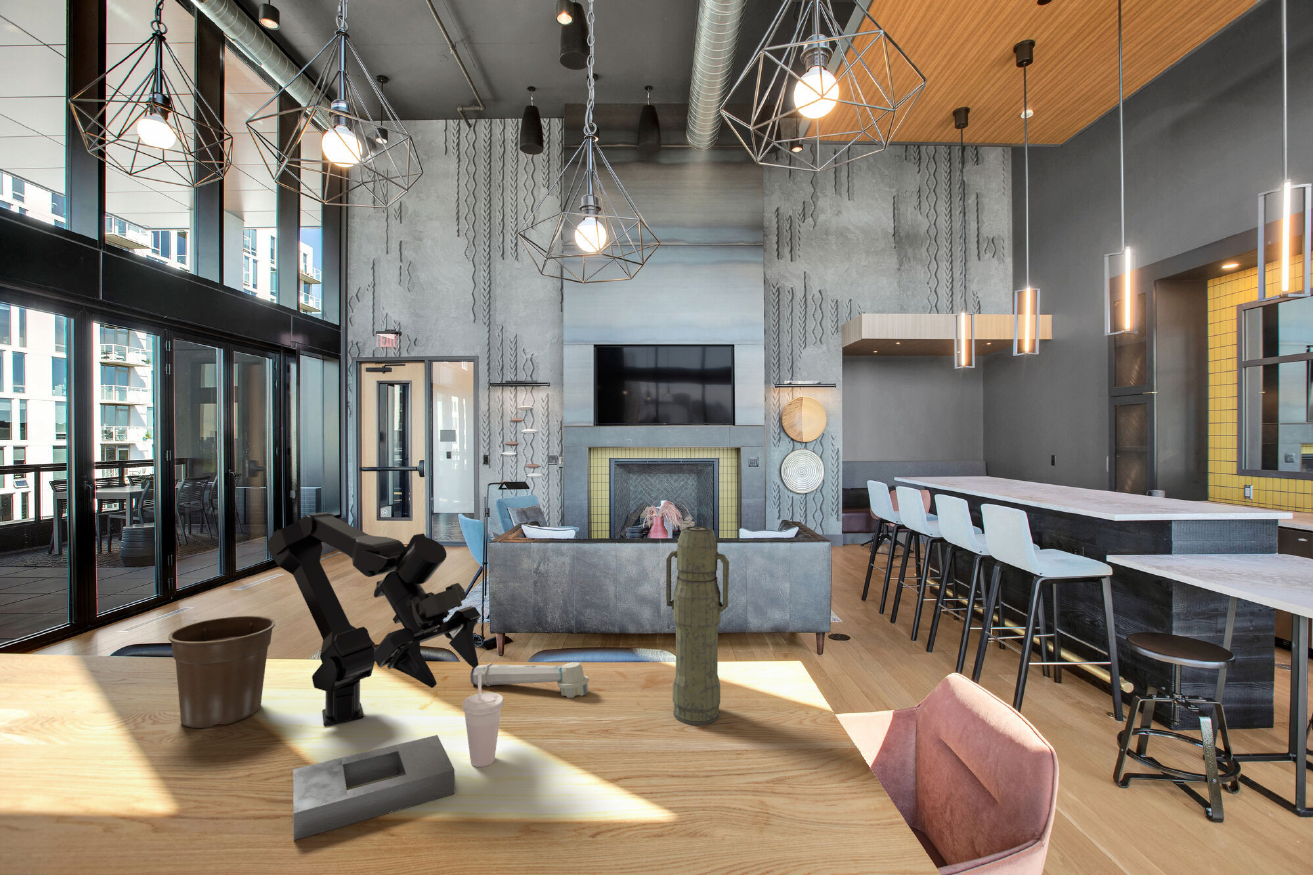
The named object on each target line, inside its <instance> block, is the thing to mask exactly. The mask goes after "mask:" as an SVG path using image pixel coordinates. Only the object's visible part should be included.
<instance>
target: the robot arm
mask: <svg viewBox="0 0 1313 875" xmlns="http://www.w3.org/2000/svg"><path fill="white" fill-rule="evenodd" d="M324 543H325V544H326V545H328V546H330V547H332V548H334V549H336V550H337V551H339V552H341V553H342V554H345V555H346V556H348V557H349V558H350V559H351V561H352V566H353V567H354V568H355V569H356V570H358V571H359V572H360V573H361V574H362V575H363V576H365V577H368V578H373V577H377V576H380V575H385V574H386V575H385V577H383V579H381V580H378V581H377V582H376V585H375V586H376V587H375V588H374V591H373V598H375V599H376V598H381V597H385V599H386V600H387V602H388V604H389V605H390V607H391V608H392V611H393V612H394V613H395V615H394V616H393V618H392V621H393V623H394V624H395V625H396V624H399V623H401V625H402V627H403V628H400V629H397V630H394V631H391V632H389V633H387V634H386V635H385V636H384V638H383V639H382V640H381V641H380V643H379V644H378V645H377V646H376V648H375V647H374V646H375V645H376V643H375V642H374V640H372V638H371V636H370V633H369V631H368V629H367V628H366V627H365V626H360V627H355V626H353V625H352V624H351V623H350V621H349V619H348V616H347V614H346V613H345V611H344V608H343V607H342V604H341V602H340V600H339V598H338V596H337V594H336V591H335V590H334V588H333V586H332V583H331V581H330V579H329V577H328V575H327V573H326V572H325V569H324V567H323V565H322V563H321V558H322V555H323V550H324V547H323V546H324V545H323V544H324ZM267 549H268V552H269V554H270V556H271V557H272V558H273V560H274V562H275V564H276V565H277V566H278V567H279V568H280V569H283V570H284V571H286V572H287V573H289V574H291V575H292V576H293V578H294V580H295V582H296V584H297V586H298V589H299V591H300V594H301V595H302V597H303V600H304V602H305V604H306V606H307V607H308V610H309V612H310V614H311V617H312V620H314V623H315V625H316V627H317V629H318V631H319V634H320V636H321V638H322V643H321V650H320V652H319V653H320V654H319V658H320V661H321V664H320V666H318V668H317V669H316V670H315V672H314V673H313V674H312V675H311V679H312V684H313V687H314V689H317V690H321V691H324V692H325V708H324V709H322V710H321V713H322V722H323V723H322V724H323V726H329V725H333V724H339V723H342V722H343V723H344V722H347V721H353V720H356V719H357V720H358V719H362V718H364V717H365V713H364V711H363V707H362V702H361V680H364V679H366V678H369V677H371V676H372V673H373V670H374V667H375V663H376V665H377V666H378V668H383V667H387V669H388V670H391V669H394V670H396V671H398V672H401V673H403V674H406V675H407V676H410V677H411V678H413V679H415V680H417V681H418V682H420V683H422V684H424V685H426V686H427V687H429V688H431V689H434V688H435V687H436V686H437V684H438V683H437V680H436V678H435V675H434V674H433V671H432V670H431V668H430V667H429V665H428V663H427V661H426V660H425V658H424V656H423V655H422V653H421V643H423V642H427V641H430V640H432V639H435V638H438V637H441V636H443V635H444V636H445V638H447V639H449V640H450V641H449V642H448V644H449V645H450V646H451V647H452V648H453V650H455V651H456V653H457V654H458V655H459V656H460V657H461V658H462V659H463V660H464V661H465V662H466V663H467V664H468V665H469V666H470V667H471V668H476V667H477V666H478V665H479V659H478V654H477V650H476V644H475V641H474V630H475V627H476V626H477V624H478V623H479V622H478V621H479V619H480V618H481V617H482V615H481V613H480V612H479V610H478V608H476V606H471V605H470V606H465V607H464V608H460V607H462V606H463V603H462V602H463V601H465V600H466V598H467V595H466V594H467V593H466V592H465V588H463V586H462V585H461V584H460V583H459V582H456V583H453V584H450V585H448V586H446V587H445V590H444V591H440V592H438V593H434V592H433V591H430V592H426V591H425V589H424V588H423V586H422V585H423V584H426V583H427V582H428V581H429V580H430V579H431V578H432V577H433V575H434V574H435V573H436V571H437V570H438V569H439V568H440V566H441V565H442V564H443V563H444V562H445V560H446V558H447V551H446V548H445V546H444V545H443V544H442V543H439V542H438V541H437V540H434V539H433V538H429V537H427V536H426V535H425V533H424V532H423V533H417V534H414V535H412V537H411V538H410V540H409V542H408V544H406V545H404V543H403V542H402V541H400V539H396V538H391V537H388V536H377V535H370V534H368V533H366V532H364V531H362V530H360V529H358V528H356V527H354V526H353V525H350V524H348V523H347V522H345V521H343V520H341V519H339V518H337V517H336V516H335V515H334V514H333V513H330V512H318V513H308V514H307V515H305V516H302V518H300V519H299V520H298V521H295V522H292V523H291V524H289V525H287V526H284V527H282V528H281V529H278V530H276V531H274V532H273V533H272V536H271V537H270V538H269V539H268V541H267ZM455 608H460V609H456V610H455V611H454V613H453V614H452V615H451V616H450V612H449V611H451V610H453V609H455ZM448 616H450V618H448V620H446V621H444V619H446V618H447V617H448Z"/></svg>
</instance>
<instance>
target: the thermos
mask: <svg viewBox="0 0 1313 875" xmlns="http://www.w3.org/2000/svg"><path fill="white" fill-rule="evenodd" d="M676 545H677V546H676V550H672V551H671V552H670V553H669V554H668V556H667V558H666V559H665V561H666V565H665V566H666V570H665V571H666V574H665V578H666V579H665V580H666V581H665V596H666V597H665V599H666V606H667V607H671V610H673V622H674V624H675V678H674V679H673V683H672V702H673V712H672V713H673V714H672V715H673V717H674V718H675V719H676V720H677V721H679V722H680V723H683V724H685V725H686V724H687V725H693V726H703V725H704V726H705V725H710V724H713V723H715V722H716V721H718V720H719V718H720V704H721V682H720V678H719V675H718V670H719V669H718V666H719V665H718V657H719V655H718V654H719V653H718V651H719V650H718V648H719V647H718V645H719V644H718V642H719V640H718V639H719V637H718V636H719V634H718V633H719V625H720V623H721V613H722V612H723V611H725V610H726V609H727V608H728V606H729V582H730V581H729V580H730V578H729V577H730V561H729V559H728V558H727V556H726V554H723V553H719V552H718V542H717V538H716V534H715V531H714V530H713V529H711V528H710V527H707V526H695V525H693V526H685V528H683V529H681V530H680V534H679V537H678V540H677V543H676ZM673 557H674V558H675V559H676V569H677V576H676V585H675V587H674V591H673V599H672V558H673ZM718 560H720V562H721V563H722V601H721V591H720V588H719V584H718V576H717V571H718Z"/></svg>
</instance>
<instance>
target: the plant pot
mask: <svg viewBox="0 0 1313 875" xmlns="http://www.w3.org/2000/svg"><path fill="white" fill-rule="evenodd" d="M275 626H276V621H275V619H274V618H272V617H267V616H262V615H237V616H236V615H235V616H226V617H219V618H212V619H205V620H202V621H201V620H200V621H197V622H194V623H190V624H187V625H185V626H182V627H178V628H176V629H175V630H173V631H171V632H170V633H169V634H168V635H167V638H168V641H169V642H170V643H171V648H172V649H171V650H172V657H173V658H172V659H174V660H175V669H176V680H177V690H178V691H177V692H178V701H179V702H178V704H179V705H178V706H179V713H180V714H179V716H180V717H179V718H180V723H181V724H182V725H183V726H185V727H189V728H193V729H206V728H207V729H208V728H212V727H214V726H215V725H219V724H222V725H224V726H227V725H230V724H233V723H236V722H239V721H242V720H244V719H246V718H247V719H248V718H249V717H251V716H252V715H254V714H256V713H257V712H258V711H259V709H260V708H261V705H262V700H263V699H262V697H263V692H264V691H263V689H264V682H265V674H266V665H267V658H268V656H267V655H268V648H269V646H270V645H271V642H272V641H271V640H272V635H273V634H272V633H273V629H274V628H275Z"/></svg>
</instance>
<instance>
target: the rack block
mask: <svg viewBox="0 0 1313 875" xmlns="http://www.w3.org/2000/svg"><path fill="white" fill-rule="evenodd" d="M292 773H293V774H292V775H293V776H292V777H293V778H292V786H293V787H292V798H293V799H292V804H293V805H292V811H293V813H292V814H293V815H292V816H293V818H292V820H293V822H292V823H293V827H292V829H293V834H292V836H293V837H292V839H293V841H297V840H301V839H304V838H307V837H310V836H314V835H318V834H322V833H324V832H327V831H328V832H329V831H332V830H335V829H339V828H342V827H345V826H348V825H352V824H357V823H359V822H362V821H366V820H369V819H372V818H377V817H380V816H382V815H383V814H384V815H387V814H390V813H389V812H391V811H394V812H397V811H400V810H399V809H401V810H403V809H407V807H408V808H411V807H414V806H417V805H421V804H424V803H428V802H430V801H431V802H432V801H435V800H438V799H442V798H445V797H450V796H452V795H455V777H456V776H455V773H456V770H455V767H454V765H453V764H452V761H451V759H450V757H449V756H448V754H447V751H446V750H445V748H444V745H443V744H442V742H441V740H440V737H439V735H438V734H435V735H432V736H428V737H424V738H423V737H422V738H419V739H415V740H411V741H407V742H402V743H401V742H400V743H397V744H394V745H389V746H385V747H382V748H378V749H377V748H376V749H372V750H368V751H364V752H360V753H356V754H351V755H347V756H343V757H340V758H339V757H338V758H336V759H329V760H326V761H322V762H318V763H315V764H309V765H306V766H301V767H296V768H293V769H292ZM395 775H397V776H395ZM391 776H395V777H392V778H388V777H391ZM384 778H388V779H384ZM380 779H384V780H380ZM377 780H380V781H377ZM371 781H372V783H369V784H366V785H362V786H359V787H354V788H351V789H347V788H349V787H353V786H356V785H360V784H364V783H367V782H371ZM373 781H377V782H373ZM396 810H397V811H396ZM386 813H387V814H386ZM391 813H392V812H391ZM384 815H383V816H384Z"/></svg>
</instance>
